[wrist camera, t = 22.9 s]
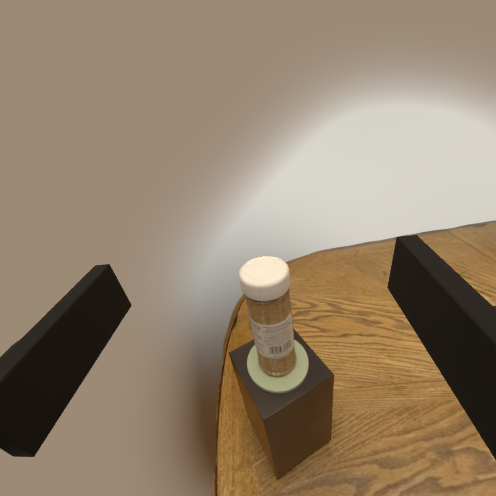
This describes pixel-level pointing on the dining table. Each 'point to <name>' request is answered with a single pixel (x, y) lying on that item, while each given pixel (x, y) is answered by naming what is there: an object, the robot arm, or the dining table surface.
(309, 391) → the riser
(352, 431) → the dining table surface
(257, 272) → the sprinkles bottle
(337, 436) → the dining table surface
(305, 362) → the coaster
